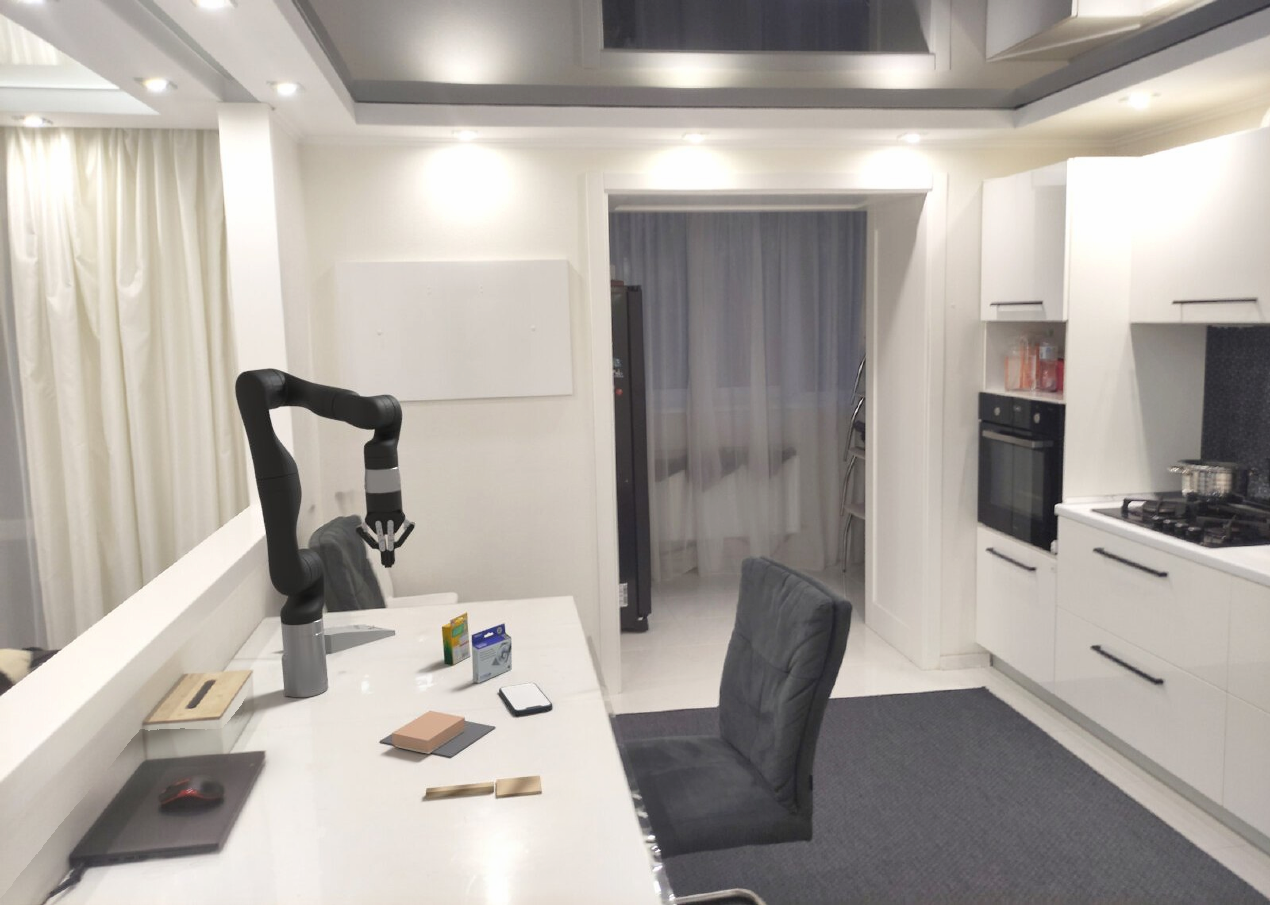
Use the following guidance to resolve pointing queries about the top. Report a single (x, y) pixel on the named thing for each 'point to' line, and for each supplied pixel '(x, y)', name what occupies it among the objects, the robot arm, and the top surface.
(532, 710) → the phone case
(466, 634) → the crayon box
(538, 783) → the turner
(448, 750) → the mat
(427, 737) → the tile
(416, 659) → the top surface
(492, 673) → the ink box
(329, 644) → the ramp
